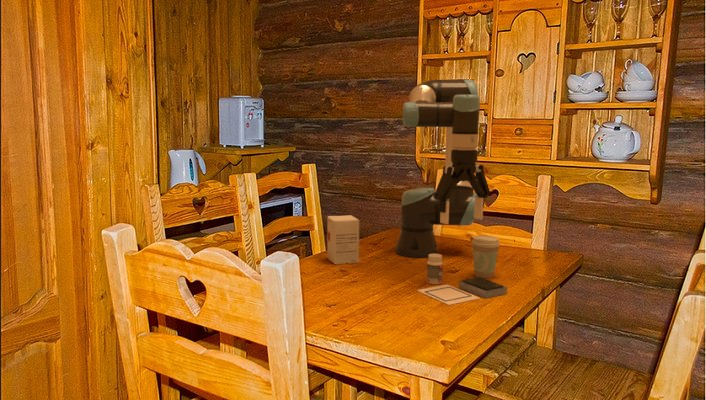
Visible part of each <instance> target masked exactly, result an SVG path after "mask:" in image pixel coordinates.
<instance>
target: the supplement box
mask: <svg viewBox="0 0 706 400" xmlns="http://www.w3.org/2000/svg"><path fill="white" fill-rule="evenodd" d="M326 219H327V220H326V221H327V231H326V232H327V235H326V236H327V259H328V260H329V261H330V262H331V263H332V262H333V263H334V265H335V264H336V265H345V264H346V263H348V264H358V263H359V262H360V261H359V260H360V253H359V252H360V220H359V219H358V218H357V217H356V216H353V215H352V214H351V215H350V214H349V215H348V214H346V215H329V216H327V218H326ZM333 263H332V264H333Z"/></svg>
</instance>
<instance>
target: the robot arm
mask: <svg viewBox="0 0 706 400" xmlns="http://www.w3.org/2000/svg"><path fill="white" fill-rule="evenodd" d="M478 91H479V90H478V88H477V83H476V81H474V80H472V79H465V78H461V79H430V80H429V79H428V80H425V81H423V82H421V83H419V84H417V85H416V86H414V87H413V88H412V90H411V91H410V93H409V96H408V102H407V101H406V102H404V103H403V105H402V125H403V126H405V127H411V128H416V127H417V128H427V127H428V128H445V159H444V160H445V163H444V166H443V169H442V174H441V177H440V179H439V183H438V185H437V187H436V190H435V188H434V187H419V188H412V189H411V188H410V189H408V190H406V191H403V193H402V195H401V203H400V206H401V215H400V217H401V218H400V233H399V236H398V238H397V243H396V244H395V253H396V254H397V255H401V256H403V257H410V258H411V257H412V258H428V255H429V254H439V251H438V250H439V249H438V248H439V247H438V244H437V240H436V237H435V234H434V225H435V226H437V225H438V226H458V227H460V226H471V225H472V224H473V223H474V221H475V219H476V220H481V221H482V220H483V217H484V208H485V199H486V198H488V196H490V195H491V191H490V187H489V184H488V182H487V178H486V175H485V171H484V167H485V166H484V165H483V164H478V163H477V162H478V155H479V154H478V150H477V149H478V148H479V147H478V146H479V123H480V122H479V121H480V109H481V104H480V101H481V100H480V96H479V92H478ZM476 163H477V164H476Z"/></svg>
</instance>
